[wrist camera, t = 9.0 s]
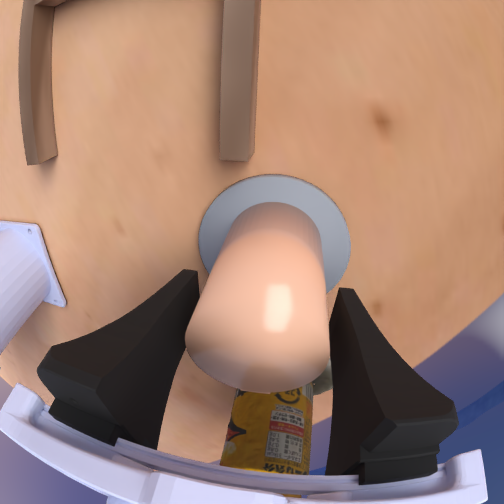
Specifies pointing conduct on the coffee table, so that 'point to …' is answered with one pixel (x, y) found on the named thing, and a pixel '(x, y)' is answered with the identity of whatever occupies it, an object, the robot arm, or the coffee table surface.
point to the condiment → (273, 429)
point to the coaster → (285, 192)
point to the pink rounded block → (264, 304)
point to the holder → (232, 79)
